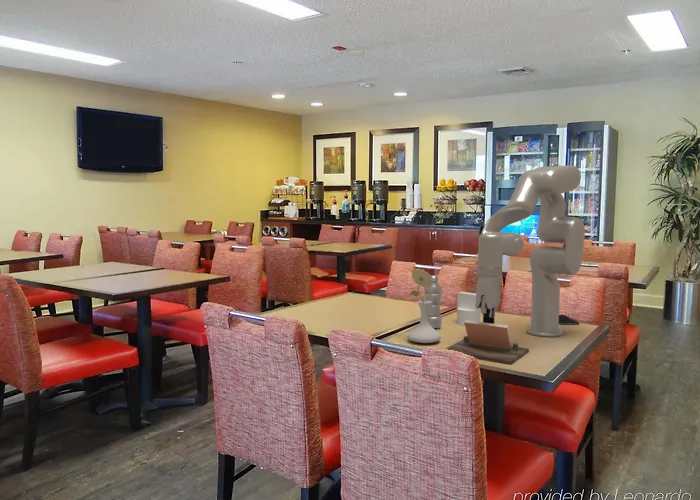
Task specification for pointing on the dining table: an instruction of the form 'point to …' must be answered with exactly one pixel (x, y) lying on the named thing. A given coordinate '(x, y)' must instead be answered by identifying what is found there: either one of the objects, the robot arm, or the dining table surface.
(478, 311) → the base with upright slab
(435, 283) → the plastic bottle
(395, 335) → the dining table surface
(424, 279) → the flower in vase
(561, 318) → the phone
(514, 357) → the board
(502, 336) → the tile
